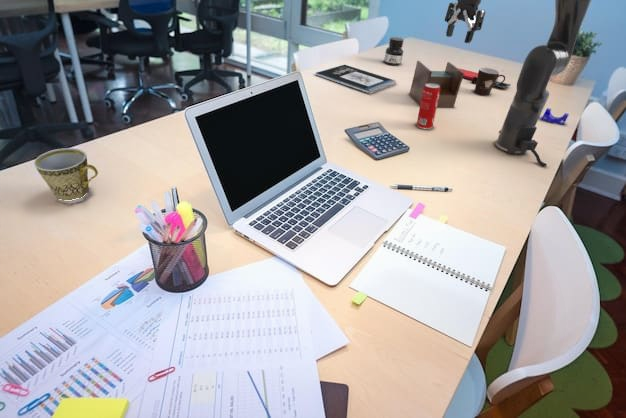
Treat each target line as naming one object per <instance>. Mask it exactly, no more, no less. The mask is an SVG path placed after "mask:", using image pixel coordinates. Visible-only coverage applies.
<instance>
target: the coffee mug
mask: <svg viewBox="0 0 626 418" xmlns="http://www.w3.org/2000/svg"><path fill="white" fill-rule="evenodd" d="M477 73H478V77H477V82H476V84H475V88H474V91H473V92H474V94H476V95H479V96H483V97H488V96H489V95H490V93H491V92H492V89H493V88H496V87H499V86H498V85H500V84H502V83H505V81H506V76H505V75H504V74H500V71H499V70H497V69H495V68H491V67H479V69H478V71H477ZM500 77H503V80H502V81H500V82H501V83H499V84H497V85H494V83H495V81H496V79H497V78H498V79H499V78H500Z"/></svg>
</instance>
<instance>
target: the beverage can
mask: <svg viewBox="0 0 626 418" xmlns="http://www.w3.org/2000/svg"><path fill="white" fill-rule="evenodd" d="M439 95H440V85H438V84H435V83H426V84H425V86H424V88H423V92H422V97H421V103H420V105H419V109H418V113H417V114H418V115H417V120H416V126H417V127H418V128H420V129H423V130H431V129H432V128H433V127H434V123H435V118H436V112H437V108H438V107H437V104H438V99H439Z"/></svg>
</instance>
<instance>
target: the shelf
mask: <svg viewBox="0 0 626 418" xmlns="http://www.w3.org/2000/svg"><path fill="white" fill-rule="evenodd" d="M445 65H446V66H445V69H444V70H431V69H430V68H428V67H427V66H426V65H425V64H424V63H423V62H421V61H420V60H417V61H416V65H415V69H414V73H413V77H412V82H411V86H410V89H409V96H411V98H412V99H413V100H414V101H415V102H416V104H418V105H419V106H420V103H421V97H422V92H423V88H424V86H425V84H426V83H435V84H438V85H440V95H439V99H438V104H437V108H449V109H450V108H451V109H453V108H454V107H455V104H456V100H457V97H458V94H459V91H460V88H461V85H462V82H463V75H464V73H463V72H462V71H461V70H459V69H460V68H459V67H457V66H455V65H454V64H452V62H450V61H447V62H446V64H445ZM458 68H459V69H458Z"/></svg>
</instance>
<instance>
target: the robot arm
mask: <svg viewBox="0 0 626 418" xmlns="http://www.w3.org/2000/svg"><path fill="white" fill-rule="evenodd" d="M456 1H457V2H449V4H448V8H447V10H446V14H445V17H444V22H446V23H447V28H446V32H445V34H446V35H445V36H446V37H448V38H451V37H452V36H453V35H454V30H455V27H456V23H457V22H458V21H462V22H464V23H465V25H466V26H467V29H468V30H467V31H466V34H465V39H464V44H470V43H471V42H472V41H473V38H474V34H475V32H478V31H481V30H482V27H483V24H484V19H485V15H486V10H485V9H479V5H480V4H481V3H482V0H456ZM591 2H592V0H554V11H555V15H554V23H553V27H552V30H551V33H550V35H549V38H548V40H547V42H546V44H540V45H537V46H535V47H533V48H532V49H531V50H529V52H528V54H527V55H526V57H525V59H524V61H523V63H522V66H521V69H520V72H519V74H518V75H519V76H518V79H517V81H516V91H515V94H514V96H513V99H512V101H511V104H510V107H509V109H508V111H507V114H506V116H505V118H504V120H503V124H502V126H501V129H500V130H499V131H498V137H497V139H496V140H495V144H494V145H495V146H496V148H497V149H500V150H501V151H503V152H506V153H507V154H509V155H514V154H515V155H526V153H527V151H530V152H531V153H532V154H533V155H534V157H535V160H536V161H537V163H538V164H539V165H540V166H541V167H542V166H543V167H547V166H548V164H547V163H546V162H543V161H542V160H541V157H540V155H539V154H538V152H537V151H536V148H537V146H538V144H539V142H538V141H536V140H535V139H533V137H534V135H535V134H536V131H537V129H538V128H537V124H538V121H539V119H540V117H541V115H542V112H543V111H544V108H545V106H546V103H547V102H548V100H549V97H550V92H549V91H548V90H547V87H548V84H549V82H550V79H551V77H556V76H558V75H560V74H562V73H563V72H564V71H565V70H566V69H567V67H568V66H569V64H570V62H571V60H572V56H573V53H574V49H575V45H576V43H577V39H578V36H579V32H580V29H581V27H582V24H583V22H584V19H585V17H586V15H587V12H588V9H589V6H590V4H591Z"/></svg>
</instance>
